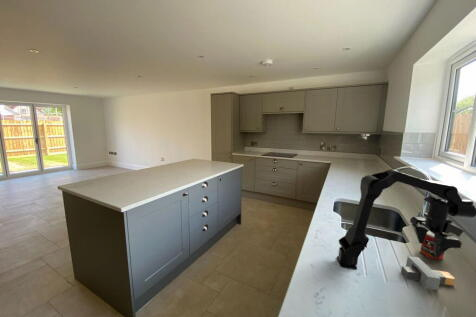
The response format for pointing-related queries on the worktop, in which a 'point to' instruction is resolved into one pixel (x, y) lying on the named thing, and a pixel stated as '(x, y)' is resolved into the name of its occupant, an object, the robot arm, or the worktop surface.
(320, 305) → the worktop surface
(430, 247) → the canned food
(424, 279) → the housing
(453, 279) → the plug
